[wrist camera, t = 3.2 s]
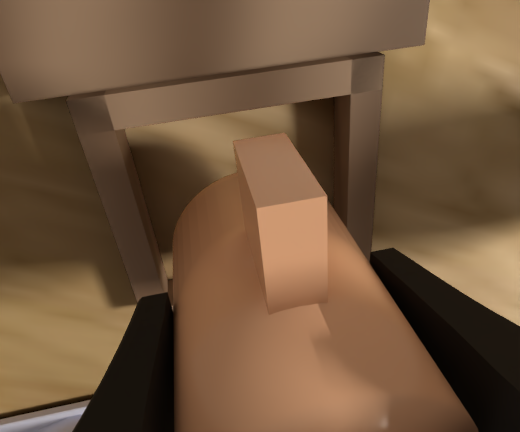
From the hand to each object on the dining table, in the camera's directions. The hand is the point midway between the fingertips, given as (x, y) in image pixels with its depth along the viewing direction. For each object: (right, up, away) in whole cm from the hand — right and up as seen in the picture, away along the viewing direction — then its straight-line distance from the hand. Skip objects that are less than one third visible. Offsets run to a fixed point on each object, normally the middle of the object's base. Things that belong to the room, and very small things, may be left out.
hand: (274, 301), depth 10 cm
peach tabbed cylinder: (-1, +1, +2) cm, 2 cm away
